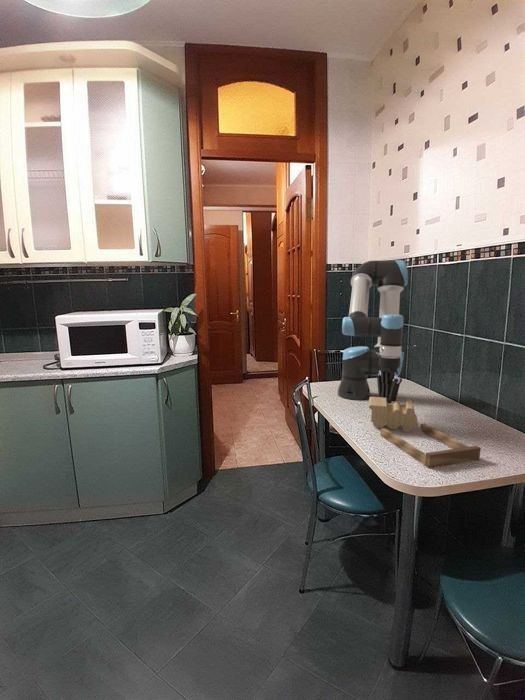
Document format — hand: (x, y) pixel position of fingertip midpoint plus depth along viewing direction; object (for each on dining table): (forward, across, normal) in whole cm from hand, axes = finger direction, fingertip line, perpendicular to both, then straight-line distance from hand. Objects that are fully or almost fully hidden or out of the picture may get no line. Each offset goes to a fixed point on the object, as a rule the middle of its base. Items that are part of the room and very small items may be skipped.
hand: (385, 417), depth 133 cm
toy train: (+2, +4, 0) cm, 5 cm away
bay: (+2, +21, 0) cm, 21 cm away
